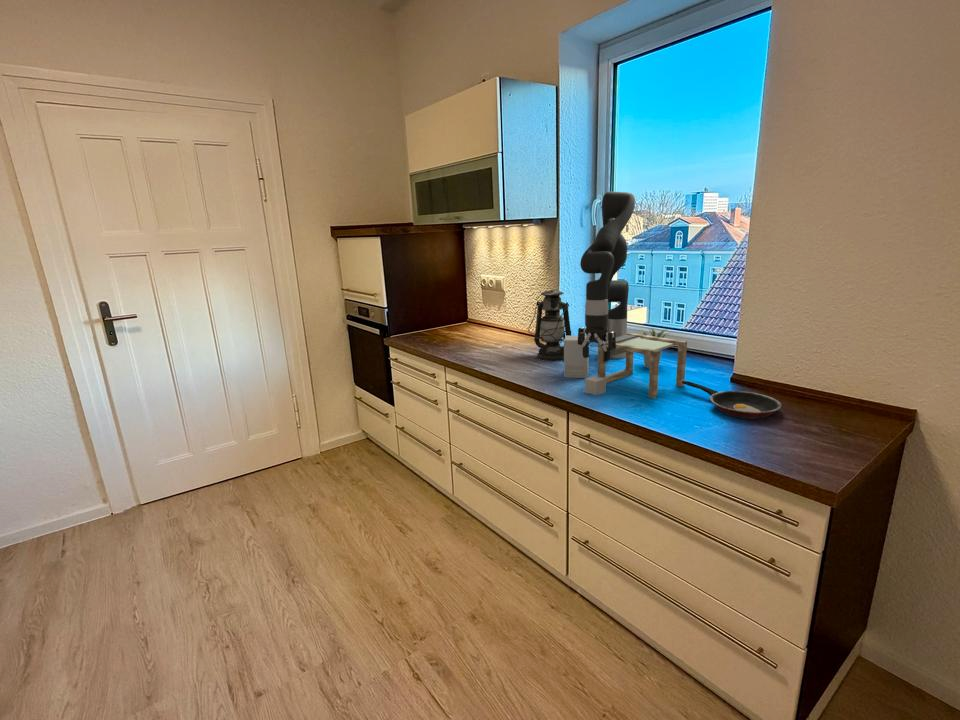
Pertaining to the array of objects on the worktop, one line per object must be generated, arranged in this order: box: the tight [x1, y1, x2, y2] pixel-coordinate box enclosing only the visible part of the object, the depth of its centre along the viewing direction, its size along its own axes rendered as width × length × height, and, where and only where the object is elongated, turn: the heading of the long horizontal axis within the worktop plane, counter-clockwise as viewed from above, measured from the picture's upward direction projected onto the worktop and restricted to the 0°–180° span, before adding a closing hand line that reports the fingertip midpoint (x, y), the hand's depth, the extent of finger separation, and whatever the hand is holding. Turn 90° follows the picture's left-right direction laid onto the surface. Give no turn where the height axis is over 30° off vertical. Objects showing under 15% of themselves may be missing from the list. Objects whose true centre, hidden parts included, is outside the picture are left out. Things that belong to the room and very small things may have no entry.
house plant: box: [636, 327, 671, 369], centre depth 191 cm, size 14×14×16 cm
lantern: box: [527, 289, 572, 362], centre depth 210 cm, size 19×19×30 cm
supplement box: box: [563, 335, 590, 379], centre depth 186 cm, size 9×9×15 cm
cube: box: [584, 375, 607, 396], centre depth 166 cm, size 5×5×5 cm
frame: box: [596, 332, 688, 399], centre depth 170 cm, size 23×19×16 cm
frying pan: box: [682, 380, 782, 420], centre depth 150 cm, size 19×32×4 cm, turn 27°
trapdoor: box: [610, 335, 674, 355], centre depth 169 cm, size 19×14×5 cm
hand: (595, 359), depth 164 cm, fingers open, 8 cm apart
